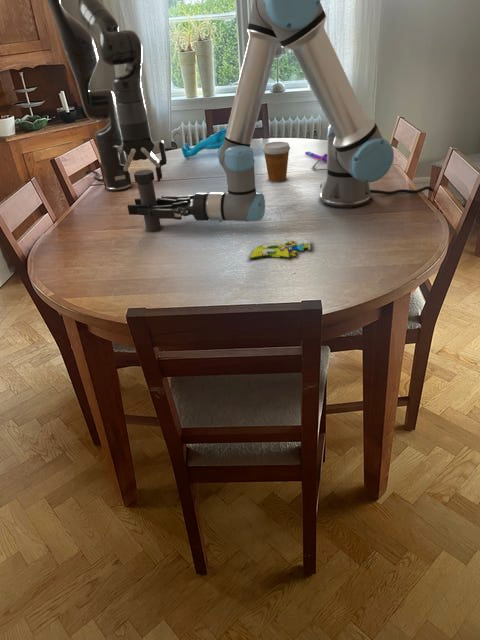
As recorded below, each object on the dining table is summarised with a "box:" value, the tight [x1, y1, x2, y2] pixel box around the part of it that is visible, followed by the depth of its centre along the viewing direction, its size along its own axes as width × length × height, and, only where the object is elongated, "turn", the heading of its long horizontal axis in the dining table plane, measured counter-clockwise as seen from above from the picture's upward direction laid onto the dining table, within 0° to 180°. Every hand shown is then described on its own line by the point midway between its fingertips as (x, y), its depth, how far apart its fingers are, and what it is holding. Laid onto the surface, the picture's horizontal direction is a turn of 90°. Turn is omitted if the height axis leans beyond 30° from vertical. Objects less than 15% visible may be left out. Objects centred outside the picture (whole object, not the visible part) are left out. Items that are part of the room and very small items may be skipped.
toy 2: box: [249, 240, 312, 260], centre depth 122 cm, size 10×1×15 cm
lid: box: [133, 169, 155, 184], centre depth 133 cm, size 5×5×2 cm
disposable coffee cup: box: [262, 141, 291, 183], centre depth 169 cm, size 10×10×12 cm
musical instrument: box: [304, 151, 327, 171], centre depth 185 cm, size 24×2×20 cm
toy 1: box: [180, 128, 227, 159], centre depth 204 cm, size 17×11×30 cm
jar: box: [136, 180, 162, 233], centre depth 137 cm, size 4×4×16 cm
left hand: (145, 182), depth 134 cm, fingers open, 7 cm apart
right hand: (132, 206), depth 139 cm, fingers closed on jar, 4 cm apart
